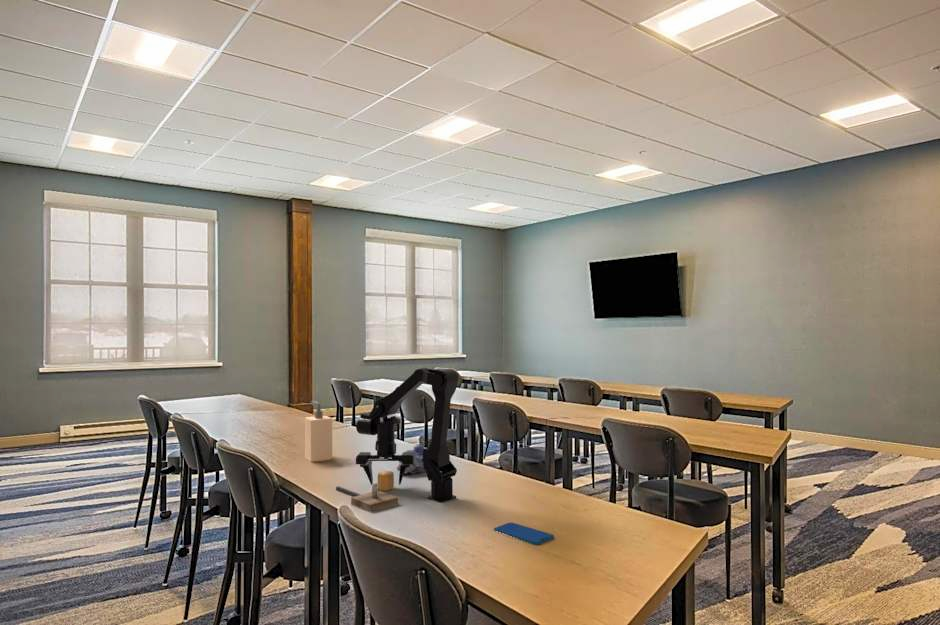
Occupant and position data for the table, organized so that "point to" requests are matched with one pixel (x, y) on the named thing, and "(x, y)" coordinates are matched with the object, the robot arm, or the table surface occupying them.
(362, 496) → the peg block
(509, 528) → the smartphone
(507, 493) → the table surface
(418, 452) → the mineral
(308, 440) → the soap dispenser
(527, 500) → the table surface
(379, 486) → the orange domed octagonal post
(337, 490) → the bar
